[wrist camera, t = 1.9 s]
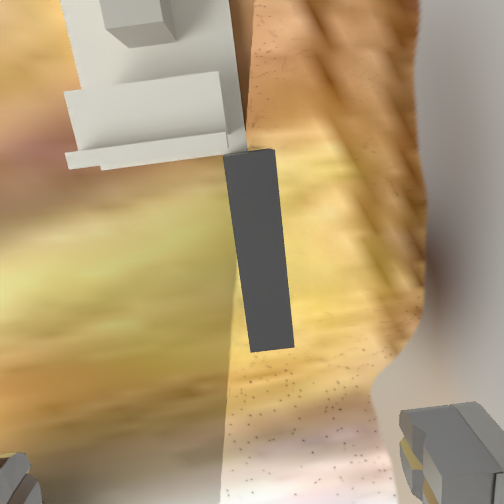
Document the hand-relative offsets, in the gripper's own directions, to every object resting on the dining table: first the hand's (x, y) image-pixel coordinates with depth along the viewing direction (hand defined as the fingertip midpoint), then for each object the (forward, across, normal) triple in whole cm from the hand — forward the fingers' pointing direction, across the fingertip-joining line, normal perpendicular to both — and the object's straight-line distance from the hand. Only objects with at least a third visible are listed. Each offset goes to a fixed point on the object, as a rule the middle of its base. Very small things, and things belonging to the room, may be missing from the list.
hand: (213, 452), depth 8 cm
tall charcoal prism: (+20, -1, +1) cm, 20 cm away
